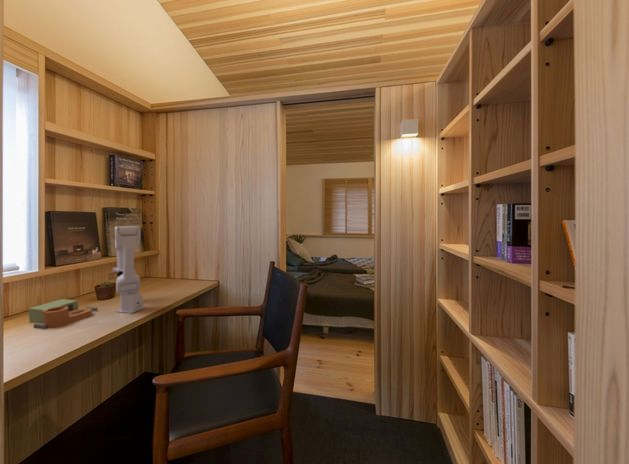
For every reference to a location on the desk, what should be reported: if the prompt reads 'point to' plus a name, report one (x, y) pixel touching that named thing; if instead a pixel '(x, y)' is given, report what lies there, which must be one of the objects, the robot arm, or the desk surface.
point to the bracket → (64, 316)
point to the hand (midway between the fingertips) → (124, 285)
